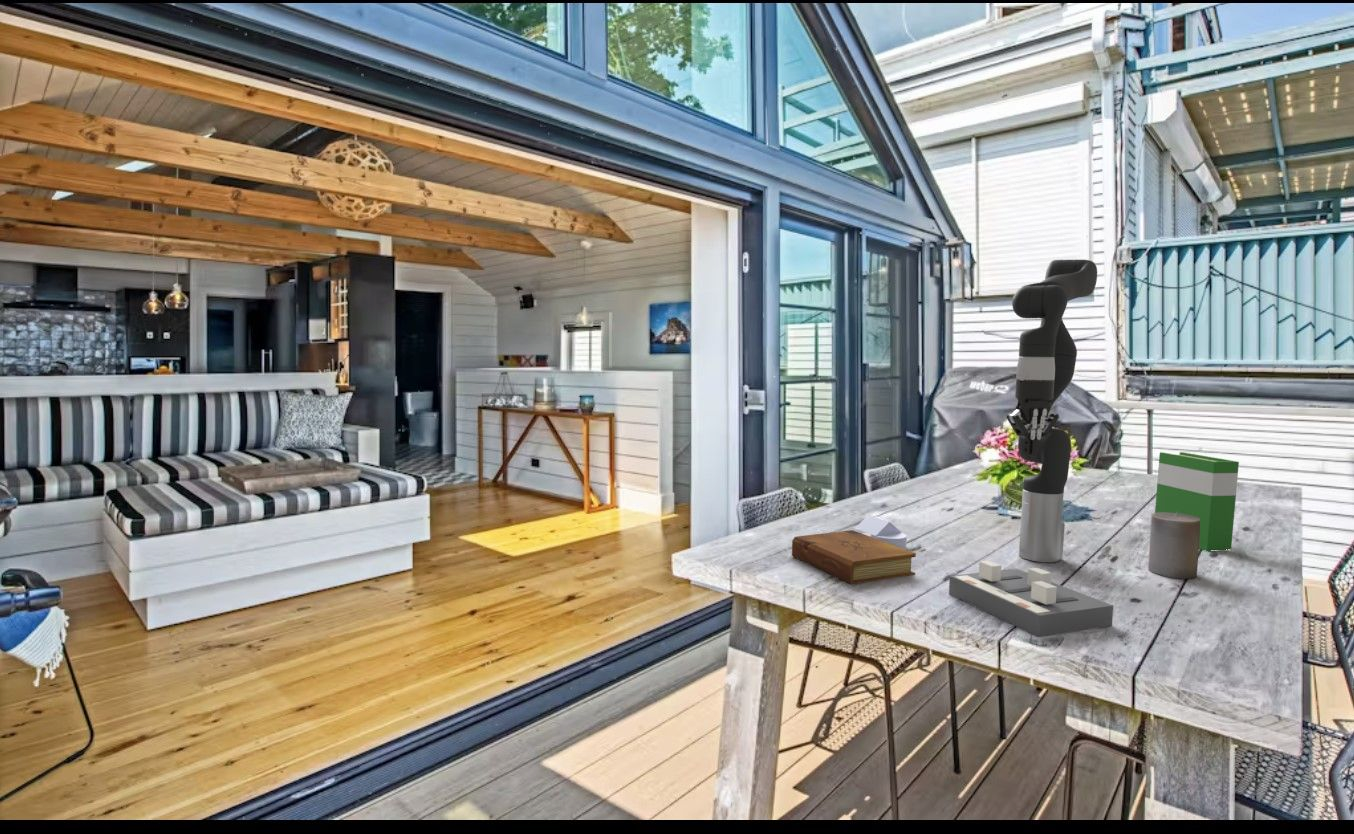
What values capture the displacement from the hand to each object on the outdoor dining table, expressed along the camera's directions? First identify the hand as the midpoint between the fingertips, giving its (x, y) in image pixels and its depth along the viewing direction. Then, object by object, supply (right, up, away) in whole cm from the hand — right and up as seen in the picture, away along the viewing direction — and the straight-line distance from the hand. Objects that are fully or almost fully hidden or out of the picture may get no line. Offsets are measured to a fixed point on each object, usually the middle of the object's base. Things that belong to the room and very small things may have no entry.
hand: (1030, 456), depth 159 cm
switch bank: (-8, -30, -13) cm, 34 cm away
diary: (-36, -28, +15) cm, 48 cm away
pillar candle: (+40, -29, +12) cm, 50 cm away
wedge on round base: (-23, -26, +34) cm, 48 cm away
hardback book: (+65, -26, +41) cm, 81 cm away
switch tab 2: (-5, -26, -13) cm, 29 cm away
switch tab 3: (-8, -27, -21) cm, 35 cm away
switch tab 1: (-13, -25, -8) cm, 29 cm away
